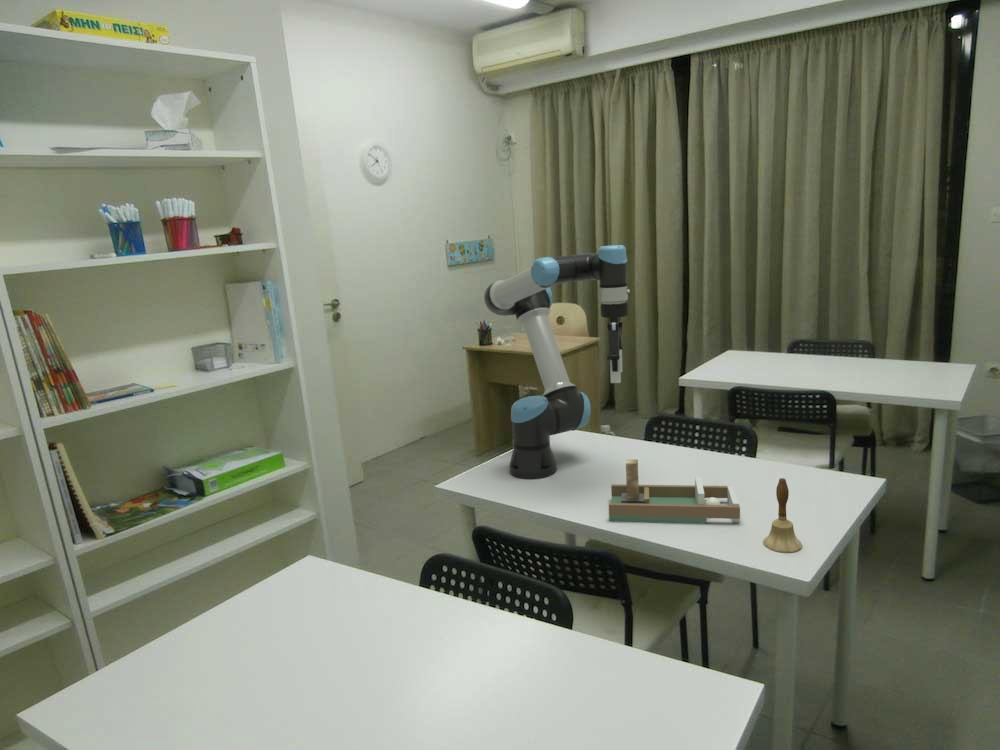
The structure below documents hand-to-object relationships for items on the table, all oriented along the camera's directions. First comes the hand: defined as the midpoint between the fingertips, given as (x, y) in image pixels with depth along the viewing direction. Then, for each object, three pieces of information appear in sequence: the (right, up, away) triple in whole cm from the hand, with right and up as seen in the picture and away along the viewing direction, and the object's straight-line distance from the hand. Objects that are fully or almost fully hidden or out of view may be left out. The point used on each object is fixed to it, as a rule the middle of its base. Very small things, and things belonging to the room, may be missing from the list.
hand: (616, 377), depth 185 cm
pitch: (+12, -35, -13) cm, 39 cm away
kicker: (+3, -34, -11) cm, 36 cm away
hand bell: (+32, -39, -34) cm, 61 cm away
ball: (+22, -33, -15) cm, 43 cm away
